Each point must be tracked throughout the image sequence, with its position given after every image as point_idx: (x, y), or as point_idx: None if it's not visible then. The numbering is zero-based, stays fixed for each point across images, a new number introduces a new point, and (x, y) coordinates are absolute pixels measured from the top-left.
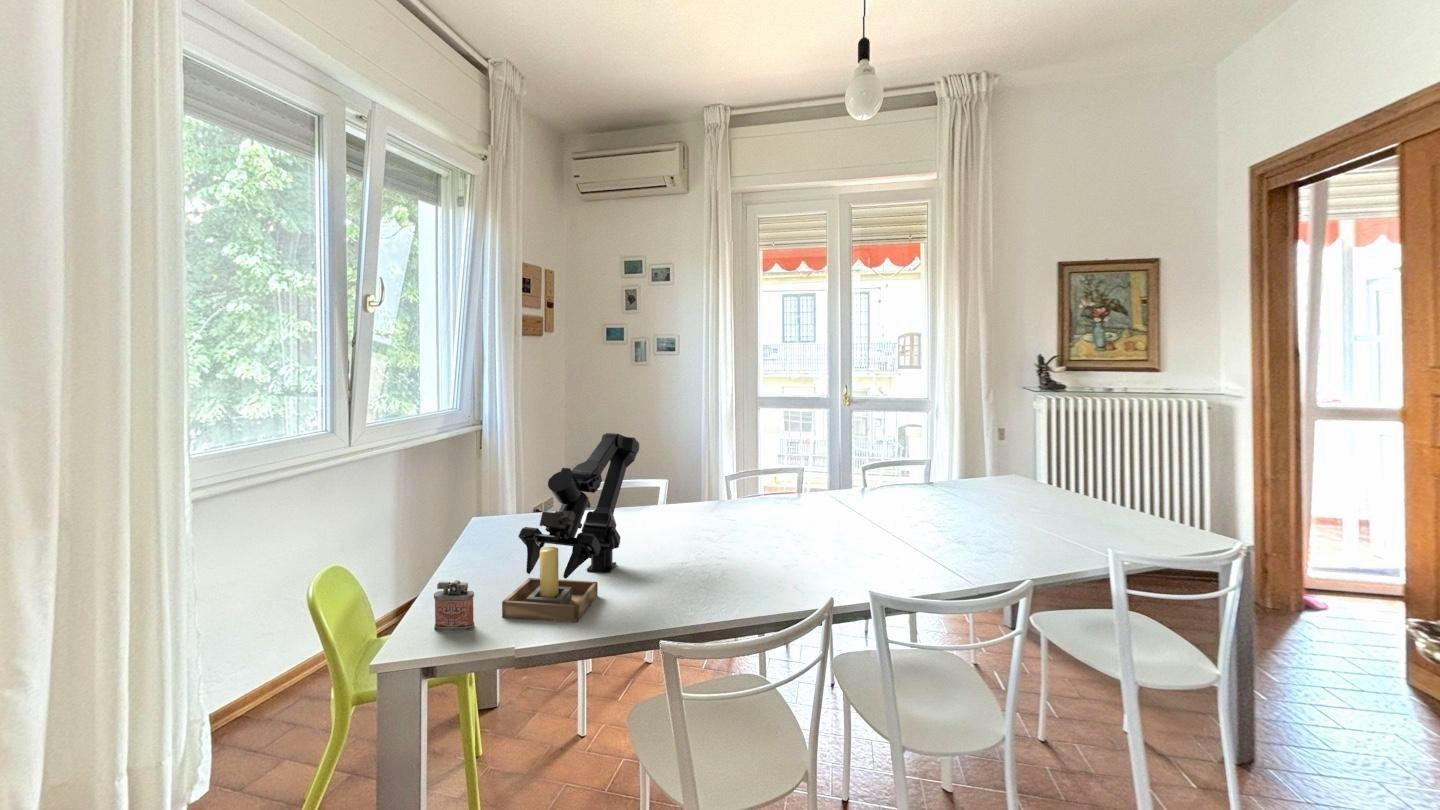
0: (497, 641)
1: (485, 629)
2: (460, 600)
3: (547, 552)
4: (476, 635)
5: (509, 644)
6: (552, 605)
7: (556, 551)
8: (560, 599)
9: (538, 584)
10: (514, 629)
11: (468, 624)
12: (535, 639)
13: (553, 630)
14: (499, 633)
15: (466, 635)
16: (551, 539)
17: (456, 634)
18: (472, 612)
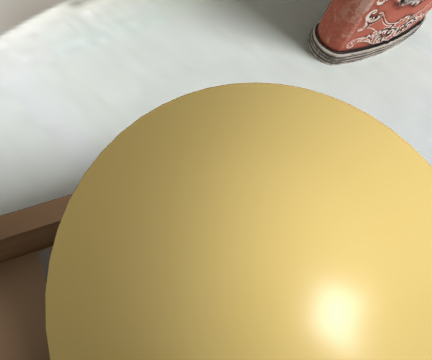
0: (159, 14)
1: (269, 59)
2: None
3: (184, 121)
4: (257, 20)
5: (103, 12)
6: (55, 199)
7: (45, 298)
8: (44, 272)
9: None
10: (173, 97)
11: (320, 21)
12: (33, 68)
13: (7, 153)
14: (199, 55)
15: (285, 10)
16: None
17: (317, 5)
18: (340, 4)
